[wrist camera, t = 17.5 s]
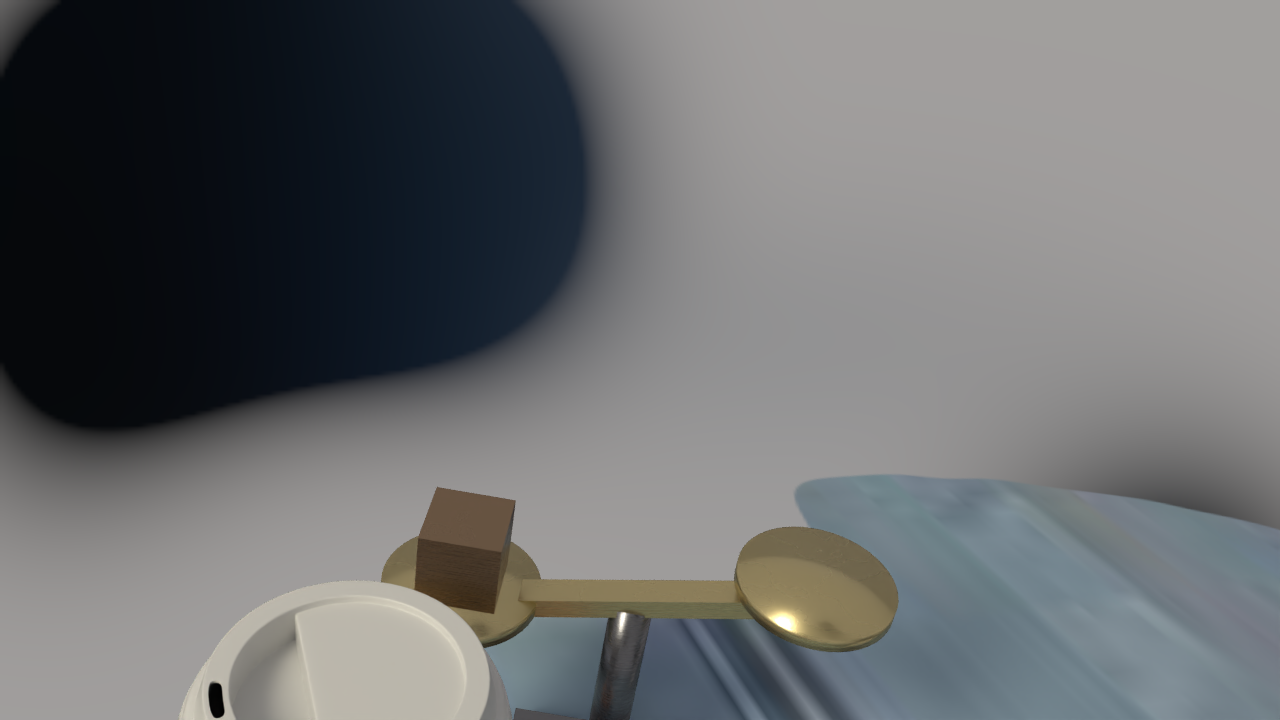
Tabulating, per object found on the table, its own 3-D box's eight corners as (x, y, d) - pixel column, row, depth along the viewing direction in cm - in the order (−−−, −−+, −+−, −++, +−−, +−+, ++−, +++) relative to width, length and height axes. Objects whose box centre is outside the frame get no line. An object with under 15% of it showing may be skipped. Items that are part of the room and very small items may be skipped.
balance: (810, 773, 53) (889, 539, 46) (817, 892, 48) (908, 650, 41) (392, 703, 53) (407, 457, 46) (353, 816, 47) (364, 558, 40)
